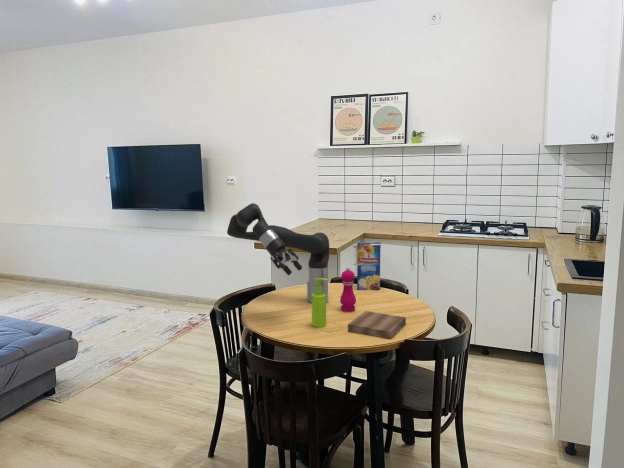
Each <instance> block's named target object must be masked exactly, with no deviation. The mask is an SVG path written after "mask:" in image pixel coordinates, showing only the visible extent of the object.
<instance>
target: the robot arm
mask: <svg viewBox="0 0 624 468" xmlns="http://www.w3.org/2000/svg"><path fill="white" fill-rule="evenodd" d="M256 220H257V222H256V223H255V224H254V225H253V227H252V231H248V228H249V226H250V225H251V224H252V223H253V222H254V221H256ZM226 233H227V235H228V236H230V237H232V238H234V239H242V240H249V241H254V242H255V241H256V242H260V243H261V245H262V246H263V248H264V249H265V250H267V252H268V253H269V255H270V256H271V257H270V258H269V259H270V260H271V261H272V263H273V265H275V267H276V268H277V269H281V270H283V271H284V272H285V274H286V275H287V276H290V275H291V274H292V273H293V271H292V270H291V268H290V267H289V266H288V265H287V264H286V262H287V263H291V264H292V265H293V266H294V267H295V269H296V270H298V271H301V270H302V269H303V266H302V265H301V263H299V261H298V260H299V259H300V258H299V256H298V255H297V254H296V253H295V252H294V251H293V249H298V250H300V251H304V252H307V253H310V256H309V260H308V281H307V282H306V302H308V303H311V304H312V294H314V293H315V286H316V285H317V281H315V279H316V278H326V279H329V276H328V275H329V272H328V271H329V267H328V266H329V260H330V240H329V237H328V236H327V234H326V233H324V232H316V233H313V234H305V233H304V234H303V233H297V232H295V231H294V230H291V229H289V228H287V227H284V226H279V225H274V224H271V225H269V224H268V223H267V221H266V219H265V217H264V215H263V212H262V210H261V208H260V206H259V205H258V204H256V203H255V202H254V203H252V202H251V203H250V204H248V205H247V206H245V207H243V208H242V209H240V210H239V211H238V212H237V213H236V214H233V215H232V216H231V218H230V220H229V222H228V226H227V231H226ZM287 248H289V249H288V250H287ZM321 285H322V286H323V293H325V294H326V303H329V280H328V281H321Z"/></svg>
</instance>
